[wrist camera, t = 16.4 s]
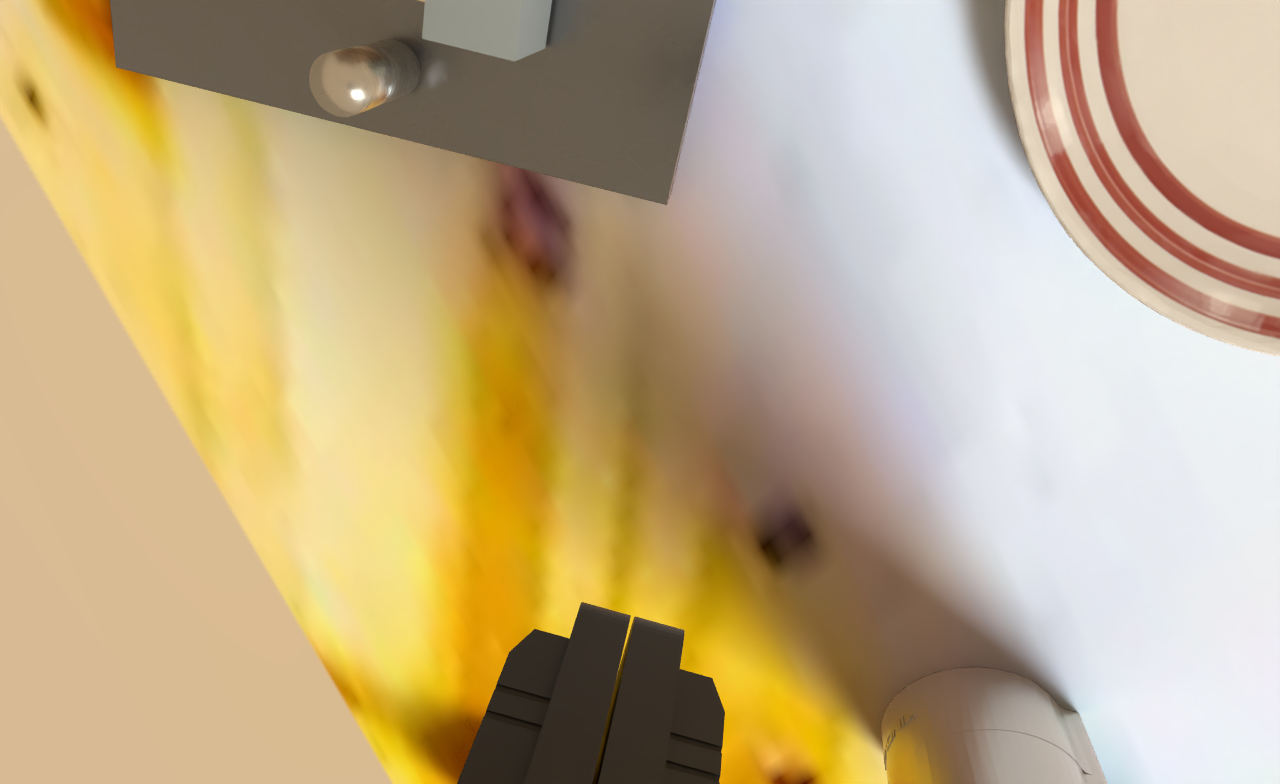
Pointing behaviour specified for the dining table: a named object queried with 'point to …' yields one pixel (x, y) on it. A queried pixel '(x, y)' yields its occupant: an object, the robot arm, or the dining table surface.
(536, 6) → the bar
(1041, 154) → the dinner plate
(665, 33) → the housing base
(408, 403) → the dining table surface
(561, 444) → the dining table surface
